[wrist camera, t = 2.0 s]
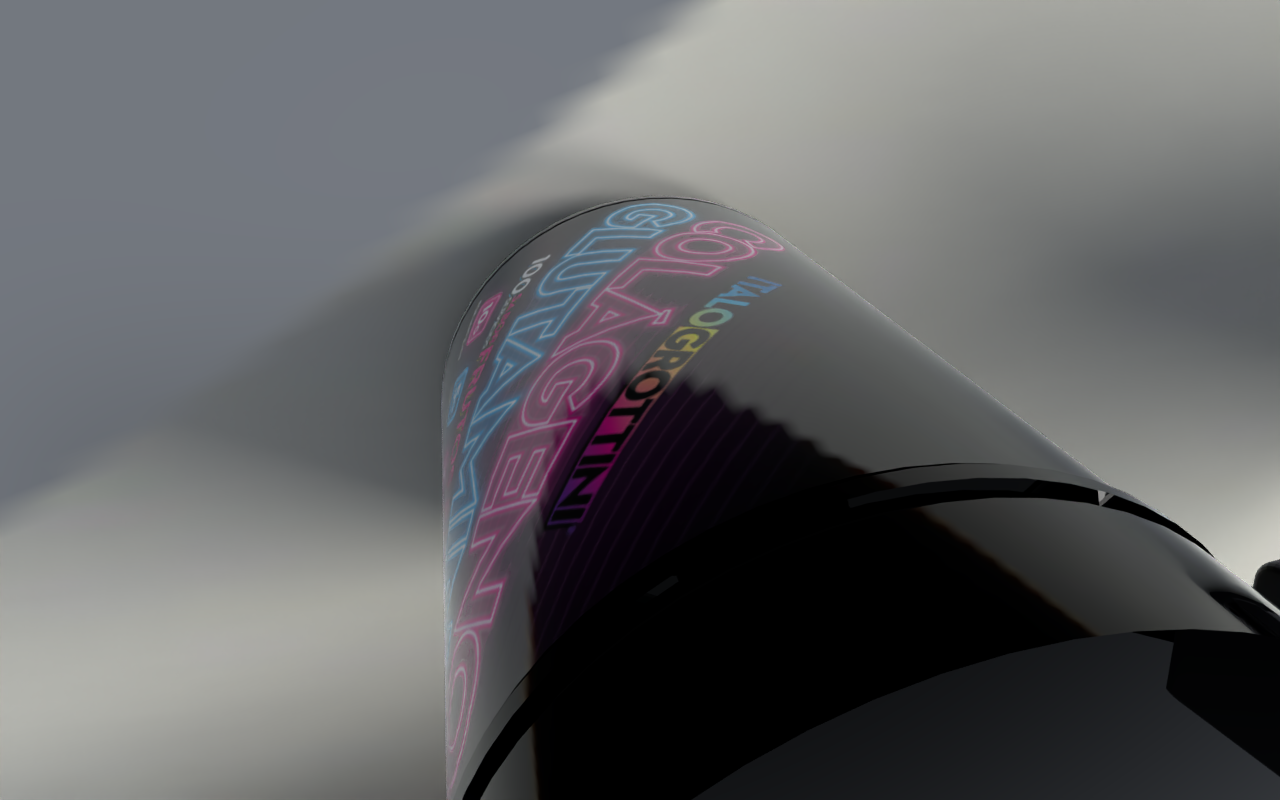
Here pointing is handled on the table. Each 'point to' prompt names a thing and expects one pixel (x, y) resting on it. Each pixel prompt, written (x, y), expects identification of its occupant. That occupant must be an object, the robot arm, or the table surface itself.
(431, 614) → the table surface
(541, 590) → the supplement container
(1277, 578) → the robot arm
